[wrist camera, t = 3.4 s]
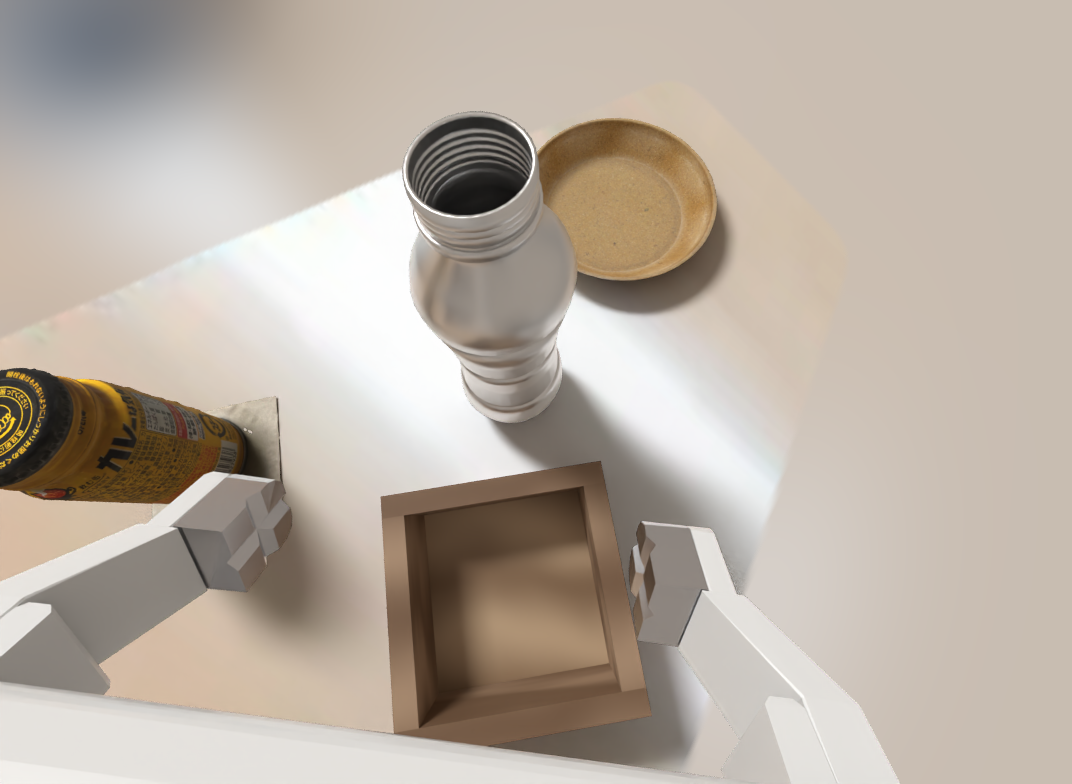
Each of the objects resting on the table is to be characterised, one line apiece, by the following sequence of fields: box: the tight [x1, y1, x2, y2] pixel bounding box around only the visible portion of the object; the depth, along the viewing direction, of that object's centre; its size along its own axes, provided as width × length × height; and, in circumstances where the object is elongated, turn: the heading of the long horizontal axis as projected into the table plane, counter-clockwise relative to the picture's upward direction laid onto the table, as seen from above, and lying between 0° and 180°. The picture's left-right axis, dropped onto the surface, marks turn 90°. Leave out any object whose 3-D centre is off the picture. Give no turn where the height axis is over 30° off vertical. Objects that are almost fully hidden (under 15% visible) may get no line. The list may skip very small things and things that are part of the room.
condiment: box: [0, 368, 280, 519], centre depth 24 cm, size 7×8×12 cm
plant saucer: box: [537, 118, 717, 281], centre depth 33 cm, size 15×15×3 cm
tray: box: [381, 461, 652, 746], centre depth 24 cm, size 12×12×5 cm
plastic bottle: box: [402, 111, 578, 423], centre depth 21 cm, size 6×7×20 cm
